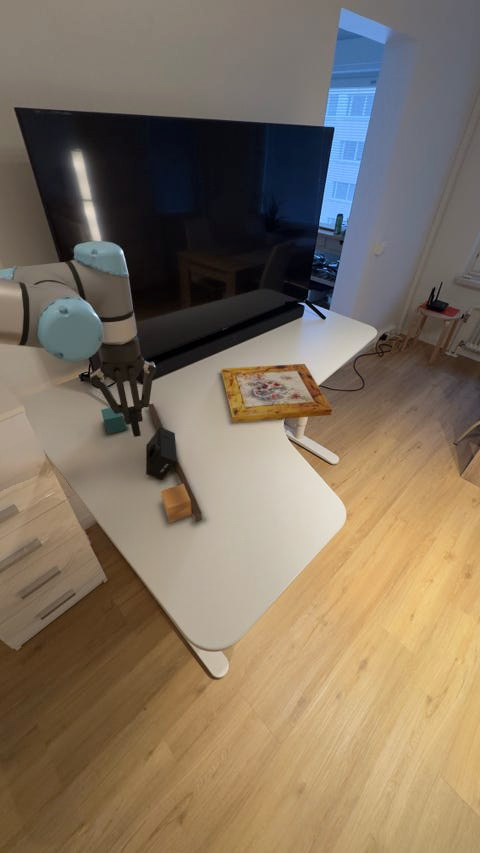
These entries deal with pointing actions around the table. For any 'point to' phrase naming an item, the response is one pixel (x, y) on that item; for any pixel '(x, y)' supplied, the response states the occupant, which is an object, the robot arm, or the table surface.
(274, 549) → the table surface
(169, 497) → the oak block
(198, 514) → the rail
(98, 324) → the robot arm
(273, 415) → the picture frame
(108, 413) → the teal block
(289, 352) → the table surface
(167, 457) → the digital camera
